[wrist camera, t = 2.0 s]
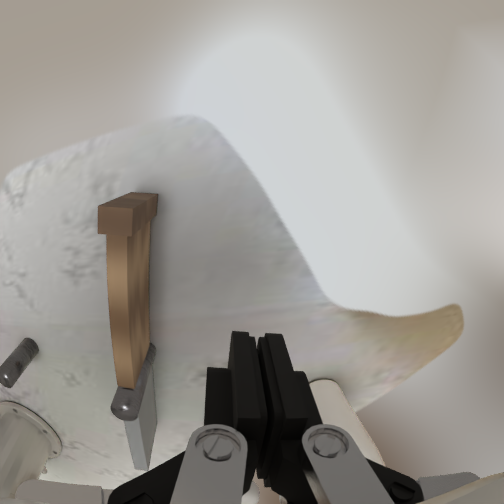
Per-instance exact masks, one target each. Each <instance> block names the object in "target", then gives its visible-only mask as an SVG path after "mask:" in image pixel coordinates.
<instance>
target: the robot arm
mask: <svg viewBox="0 0 504 504" xmlns="http://www.w3.org/2000/svg"><path fill="white" fill-rule="evenodd" d="M61 449H62V446H61V442H60V440H59V438H58V437H57V435H56V433H55V432H54V431H53V430H52V429H51V428H50V427H49V425H48V424H47V423H45V422H44V421H43V420H42V419H41V418H40V417H38V416H37V415H36V414H34V413H33V412H31V411H30V410H28V409H27V408H25V407H23V406H21V405H18V404H16V403H12V402H1V403H0V504H241V502H242V496H243V495H244V494H245V493H247V492H248V491H249V490H250V487H251V483H252V479H253V477H254V473H255V469H256V470H257V477H258V479H264V486H265V487H271V489H272V490H273V491H274V492H276V493H278V494H279V498H280V503H281V504H504V472H503V473H498V474H494V475H491V476H487V477H485V478H481V479H480V478H479V477H478V476H477V475H475V474H473V473H471V472H463V473H456V474H448V475H440V476H432V477H420V478H419V479H418V480H417V481H415V480H414V479H412V478H410V477H409V476H406V475H404V474H401V473H399V472H396V471H394V470H392V469H390V468H387V467H385V466H383V465H381V464H378V463H376V462H374V461H372V460H370V459H368V458H365V457H364V455H363V454H362V452H361V451H360V449H359V447H358V446H357V444H356V443H355V441H354V440H353V438H352V437H351V435H350V434H349V433H348V432H347V431H345V430H344V429H342V428H340V427H337V426H335V425H329V424H323V422H322V419H321V416H320V413H319V411H318V408H317V405H316V402H315V399H314V396H313V394H312V391H311V388H310V385H309V382H308V380H307V377H306V374H305V372H303V371H294V370H293V367H292V364H291V360H290V357H289V354H288V351H287V348H286V344H285V341H284V338H283V335H282V334H272V333H266V334H265V336H264V337H259V339H258V345H257V348H256V341H255V337H251V336H249V332H240V331H232V335H231V343H230V352H229V361H228V369H227V368H213V367H207V381H206V398H205V417H204V426H203V427H200V428H198V429H197V430H196V431H194V432H193V433H192V435H191V437H190V439H189V442H188V445H187V448H186V451H184V452H182V453H180V454H179V455H177V456H175V457H173V458H172V459H170V460H168V461H166V462H165V463H163V464H161V465H159V466H157V467H155V468H154V469H152V470H150V471H148V472H146V473H144V474H142V475H140V476H138V477H136V478H134V479H132V480H130V481H128V482H126V483H124V484H122V485H120V486H119V487H117V488H116V489H114V490H108V489H102V487H101V486H89V485H77V484H67V483H58V482H51V481H44V480H38V479H39V477H40V474H41V473H43V474H45V473H47V469H46V467H45V464H46V462H47V459H53V458H56V457H58V456H59V455H60V452H61Z"/></svg>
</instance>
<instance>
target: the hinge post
mask: <svg viewBox="0 0 504 504" xmlns="http://www.w3.org/2000/svg"><path fill="white" fill-rule="evenodd" d="M155 355H156V348H155V346H154V345H153V344H152V343H150V345H149V348H148V351H147V354H146V357H145V360H144V363H143V365H142V368H141V371H140V374H139V377H138V380H137V383H136V387H135V389H132V388H126V387H120V386H118V389H117V391H116V394H115V396H114V399H113V402H112V404H111V411H112V413H113V414H114V415H115V416H116V417H117V418H119V419H121V420H124V421H134V420H136V419H137V418H138V414H139V411H140V407H141V403H142V400H143V396H144V393H145V389H146V386H147V382H148V379H149V375H150V372H151V368H152V365H153V362H154V358H155Z"/></svg>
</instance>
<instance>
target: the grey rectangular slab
mask: <svg viewBox="0 0 504 504" xmlns="http://www.w3.org/2000/svg"><path fill="white" fill-rule="evenodd" d="M124 424H125V429H126V433H127V438H128V442H129V447H130V451H131V455H132V459H133V463H134V467H135V469H138V470H144V471H148V470H149V464H150V458H151V453H152V447H153V442H154V436H155V431H156V426H157V416H156V405H155V392H154V378H153V365H152V368H151V372H150V375H149V379H148V382H147V386H146V389H145V393H144V396H143V400H142V403H141V407H140V411H139V414H138V418H137V419H136V420H134V421H124Z"/></svg>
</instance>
